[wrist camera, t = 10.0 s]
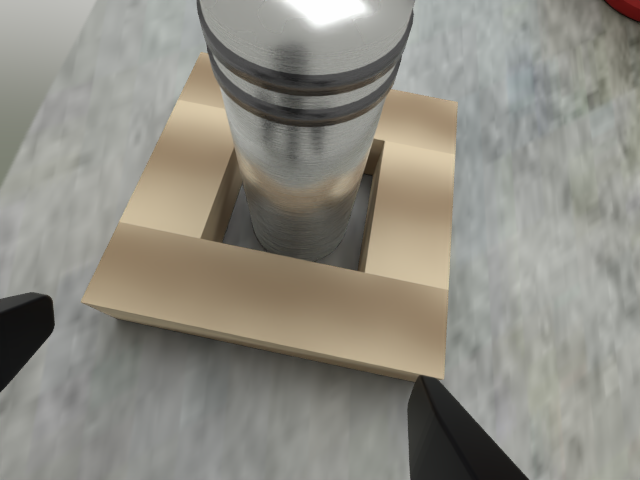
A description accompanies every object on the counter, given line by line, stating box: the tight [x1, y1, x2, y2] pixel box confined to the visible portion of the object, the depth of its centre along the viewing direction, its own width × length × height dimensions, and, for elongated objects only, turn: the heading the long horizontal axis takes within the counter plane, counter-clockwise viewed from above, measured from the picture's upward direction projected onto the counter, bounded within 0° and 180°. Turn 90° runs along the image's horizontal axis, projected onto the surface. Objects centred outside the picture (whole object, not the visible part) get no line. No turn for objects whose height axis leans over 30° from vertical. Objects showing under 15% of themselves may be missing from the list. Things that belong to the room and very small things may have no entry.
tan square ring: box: [81, 52, 458, 382], centre depth 18 cm, size 14×14×3 cm
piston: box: [197, 0, 415, 261], centre depth 14 cm, size 5×5×12 cm
